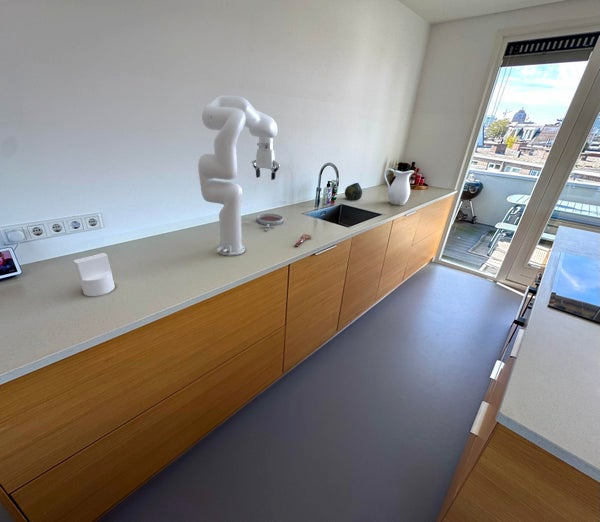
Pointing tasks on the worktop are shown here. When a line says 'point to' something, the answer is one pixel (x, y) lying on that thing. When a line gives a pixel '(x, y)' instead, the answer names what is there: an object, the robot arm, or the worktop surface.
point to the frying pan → (269, 220)
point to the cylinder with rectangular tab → (95, 274)
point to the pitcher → (399, 187)
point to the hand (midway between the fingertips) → (265, 178)
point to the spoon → (303, 239)
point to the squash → (353, 192)
